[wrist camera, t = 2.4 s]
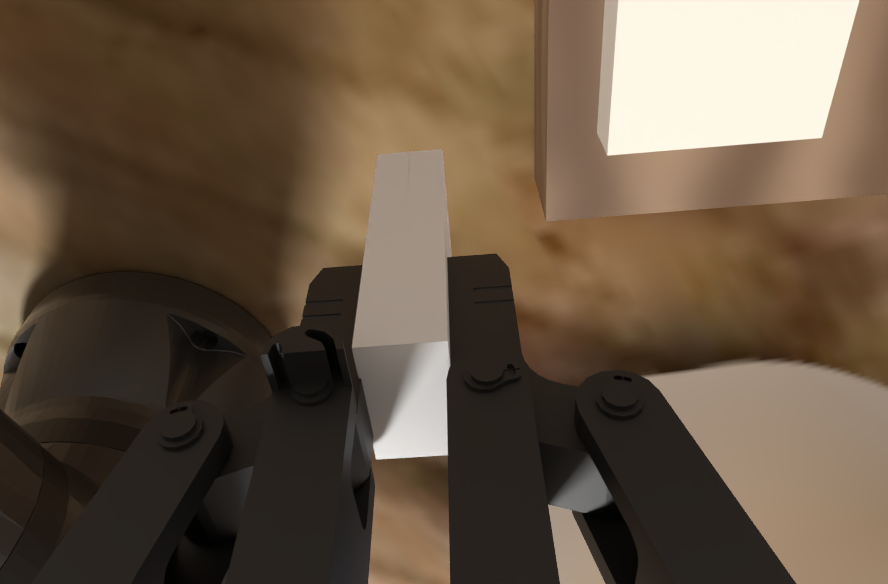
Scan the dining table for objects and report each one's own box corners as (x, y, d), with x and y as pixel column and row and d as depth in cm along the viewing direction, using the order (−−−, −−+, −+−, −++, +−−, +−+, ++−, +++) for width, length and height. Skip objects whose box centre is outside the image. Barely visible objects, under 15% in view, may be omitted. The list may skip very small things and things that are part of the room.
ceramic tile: (596, 132, 28) (607, 155, 26) (610, -92, 23) (623, -80, 21) (798, 115, 28) (821, 137, 26) (856, -115, 23) (888, -105, 21)
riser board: (534, 177, 34) (546, 221, 30) (534, -239, 24) (551, -238, 21) (850, 151, 33) (895, 193, 30) (982, -284, 23) (1070, -289, 20)
